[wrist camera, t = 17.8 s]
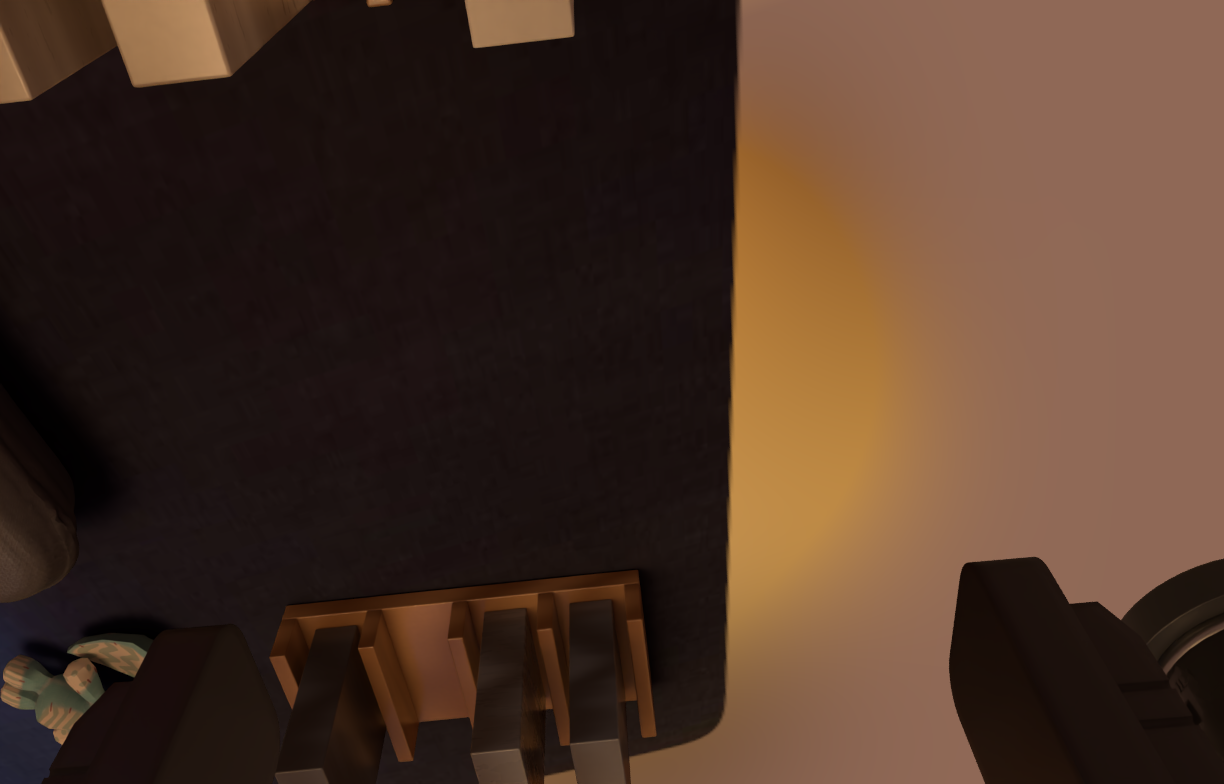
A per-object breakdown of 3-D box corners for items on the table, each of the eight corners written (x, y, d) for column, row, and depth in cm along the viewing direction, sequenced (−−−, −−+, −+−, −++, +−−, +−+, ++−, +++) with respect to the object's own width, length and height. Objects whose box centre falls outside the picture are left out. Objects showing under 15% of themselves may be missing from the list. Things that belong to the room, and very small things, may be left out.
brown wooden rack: (637, 568, 50) (651, 722, 42) (651, 684, 55) (666, 841, 47) (286, 605, 50) (233, 764, 42) (331, 716, 55) (291, 878, 47)
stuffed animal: (-48, 668, 44) (201, 766, 45) (53, 567, 50) (269, 656, 51) (-59, 802, 49) (163, 887, 50) (33, 696, 55) (229, 774, 56)
